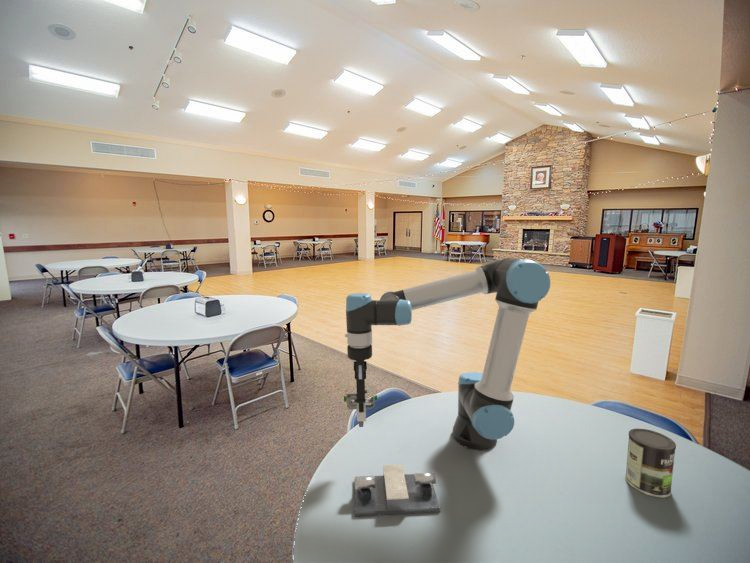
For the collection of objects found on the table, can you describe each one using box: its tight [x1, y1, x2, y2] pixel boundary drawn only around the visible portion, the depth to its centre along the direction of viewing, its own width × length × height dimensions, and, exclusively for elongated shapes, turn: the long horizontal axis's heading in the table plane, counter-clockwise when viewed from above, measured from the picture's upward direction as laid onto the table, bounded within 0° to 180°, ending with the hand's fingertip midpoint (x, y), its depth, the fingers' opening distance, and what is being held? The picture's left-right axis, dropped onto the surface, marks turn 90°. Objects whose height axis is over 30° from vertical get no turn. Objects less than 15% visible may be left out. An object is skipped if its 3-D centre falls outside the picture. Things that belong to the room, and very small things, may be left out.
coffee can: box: [624, 428, 677, 499], centre depth 96 cm, size 10×10×14 cm
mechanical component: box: [343, 393, 378, 428], centre depth 106 cm, size 3×10×10 cm, turn 93°
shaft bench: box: [354, 463, 441, 517], centre depth 94 cm, size 22×13×6 cm, turn 93°
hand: (361, 417), depth 106 cm, fingers closed on mechanical component, 3 cm apart
